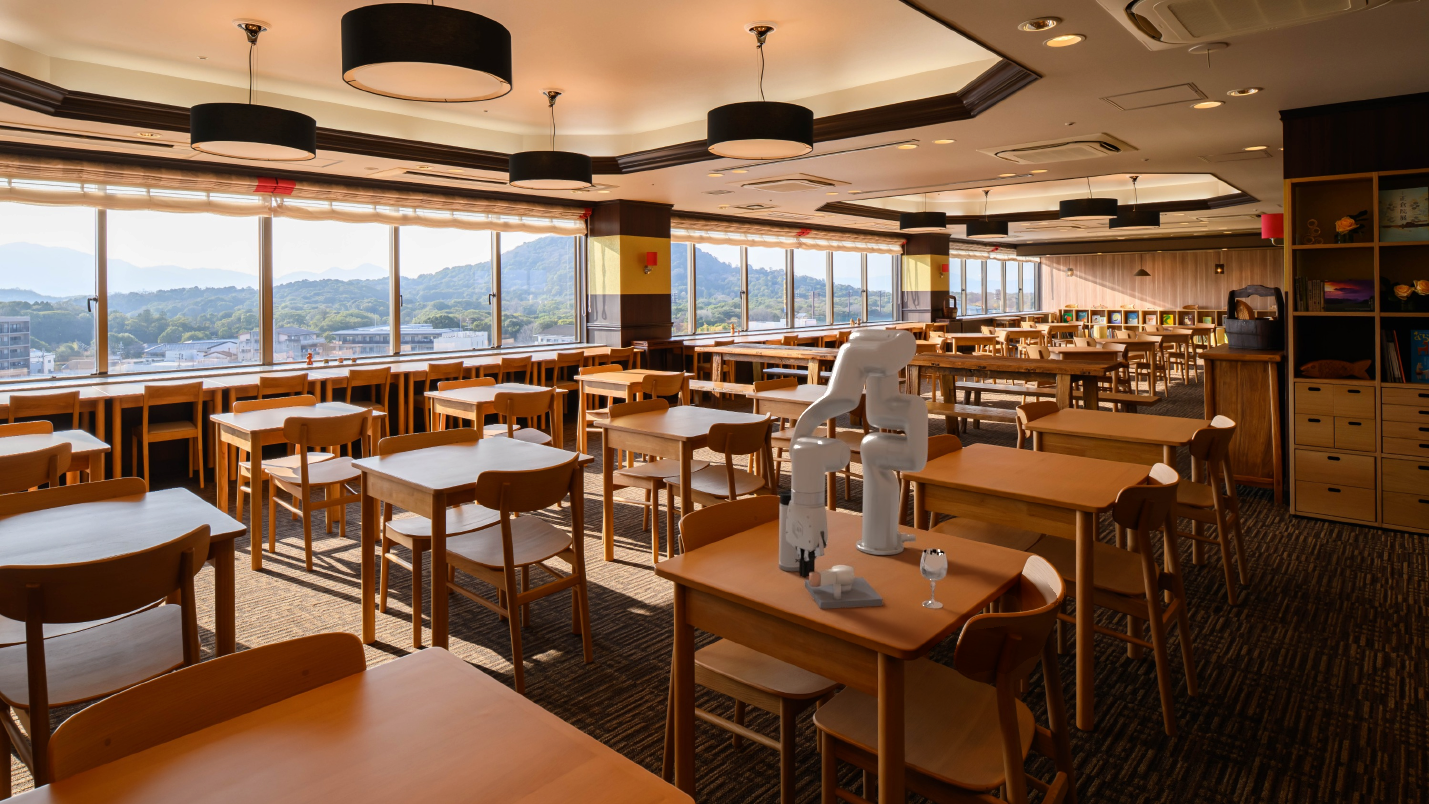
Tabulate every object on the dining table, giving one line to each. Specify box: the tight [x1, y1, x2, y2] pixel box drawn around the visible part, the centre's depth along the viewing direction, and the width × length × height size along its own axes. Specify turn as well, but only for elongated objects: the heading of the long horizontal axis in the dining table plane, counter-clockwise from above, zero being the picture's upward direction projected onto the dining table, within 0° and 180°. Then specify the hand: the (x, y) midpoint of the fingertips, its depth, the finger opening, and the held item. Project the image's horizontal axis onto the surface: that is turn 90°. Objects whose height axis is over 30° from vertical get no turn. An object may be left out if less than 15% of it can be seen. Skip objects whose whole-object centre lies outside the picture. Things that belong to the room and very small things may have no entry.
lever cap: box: [808, 564, 855, 587], centre depth 177 cm, size 11×5×3 cm, turn 115°
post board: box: [804, 576, 884, 610], centre depth 179 cm, size 14×14×4 cm
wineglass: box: [919, 548, 948, 610], centre depth 173 cm, size 6×6×12 cm
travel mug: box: [778, 489, 799, 573], centre depth 196 cm, size 6×7×20 cm
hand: (806, 575), depth 180 cm, fingers closed
